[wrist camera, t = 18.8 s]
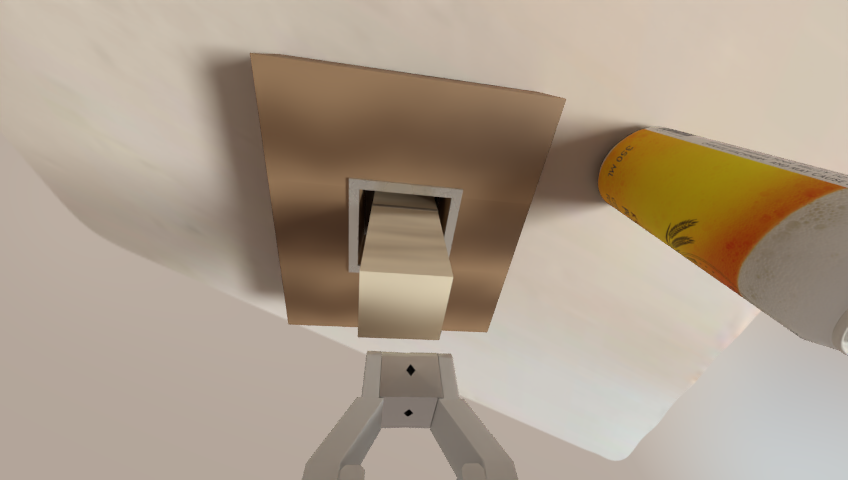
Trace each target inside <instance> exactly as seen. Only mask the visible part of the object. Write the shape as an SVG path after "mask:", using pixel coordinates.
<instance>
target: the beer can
mask: <svg viewBox="0 0 848 480" xmlns="http://www.w3.org/2000/svg"><path fill="white" fill-rule="evenodd" d="M598 188H599V192H600V194H601V196H602V198H603V199H604V200H605V201H606V202H607V203H608V204H610V205H611V206H612V207H614V208H615V209H617V210H618V211H620V212H621V213H623V214H624V215H625V216H627V217H628V218H630V219H631V220H633V221H634V222H635V223H637V224H638V225H640V226H641V227H643V228H644V229H645V230H647V231H648V232H650V233H651V234H653V235H654V236H655V237H657V238H658V239H660V240H661V241H663V242H664V243H665V244H667V245H668V246H670V247H671V248H673V249H674V250H676V251H677V252H678V253H680V254H681V255H683V256H684V257H686V258H687V259H688V260H690V261H691V262H693V263H694V264H696V265H697V266H698V267H700V268H701V269H703V270H704V271H706V272H707V273H708V274H710V275H711V276H713V277H714V278H716V279H717V280H718V281H720V282H721V283H723V284H724V285H726V286H727V287H729V288H730V289H731V290H733V291H734V292H736V293H737V294H739V295H740V296H741V297H743V298H744V299H746V300H747V301H749V302H750V303H751V304H753V305H754V306H756V307H757V308H759V309H760V310H761V311H763V312H764V313H766V314H767V315H769V316H770V317H772V318H773V319H774V320H776V321H777V322H779V323H780V324H782V325H783V326H784V327H786V328H787V329H789V330H790V331H792V332H793V333H795V334H796V335H797V336H799V337H800V338H802V339H804V340H808V341H811V342H814V343H817V344H820V345H823V346H827V347H830V348H833V349H836V350H839V351H841V352H842V353H844V354H845V355H847V356H848V175H846V174H842V173H838V172H834V171H830V170H827V169H823V168H819V167H815V166H811V165H807V164H804V163H800V162H796V161H792V160H788V159H784V158H781V157H777V156H773V155H769V154H765V153H761V152H758V151H754V150H750V149H746V148H742V147H738V146H734V145H731V144H727V143H723V142H719V141H715V140H711V139H708V138H704V137H700V136H696V135H692V134H688V133H685V132H681V131H677V130H673V129H669V128H665V127H648V128H644V129H641V130H639V131H636V132H634V133H632V134H631V135H629V136H627V137H626V138H625V139H623V140H622V141H620V142H619V143H618V144H616V145H615V146H614V147H613V148H612V149H611V150H610V152H609V153H608V154H607V156H606V157H605V159H604V161H603V163H602V165H601V168H600V172H599V178H598Z"/></svg>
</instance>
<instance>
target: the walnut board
mask: <svg viewBox="0 0 848 480" xmlns="http://www.w3.org/2000/svg"><path fill="white" fill-rule="evenodd" d="M250 57H251V64H252V71H253V78H254V85H255V93H256V100H257V107H258V114H259V121H260V128H261V135H262V142H263V149H264V156H265V163H266V170H267V177H268V184H269V191H270V198H271V205H272V212H273V219H274V226H275V233H276V240H277V247H278V254H279V261H280V268H281V275H282V282H283V289H284V296H285V303H286V310H287V317H288V323H289V324H293V325H317V326H342V327H358V313H359V272H360V266H361V261H362V256H363V251H364V246H365V240H366V235H364V221H365V190H373V191H383V192H393V193H404V194H414V195H425V196H435V197H440V199H439V205H438V215H439V219H440V223H441V227H442V232H443V236H444V240H445V244H446V248H447V252H448V256H449V261H450V265H451V269H452V273H453V281H452V286H451V290H450V294H449V299H448V303H447V308H446V312H445V316H444V321H443V325H442V330H443V331H468V332H487V331H488V328H489V325H490V322H491V319H492V316H493V314H494V311H495V308H496V305H497V302H498V299H499V296H500V293H501V290H502V287H503V284H504V281H505V278H506V275H507V272H508V269H509V266H510V264H511V261H512V258H513V255H514V252H515V249H516V246H517V243H518V240H519V237H520V234H521V231H522V228H523V225H524V222H525V219H526V216H527V214H528V211H529V208H530V205H531V202H532V199H533V196H534V193H535V190H536V187H537V184H538V181H539V178H540V175H541V172H542V169H543V166H544V164H545V161H546V158H547V155H548V152H549V149H550V146H551V143H552V140H553V137H554V134H555V131H556V128H557V125H558V122H559V119H560V116H561V114H562V111H563V108H564V105H565V102H566V99H564V98H560V97H556V96H552V95H548V94H544V93H540V92H535V91H528V90H521V89H514V88H507V87H500V86H494V85H487V84H480V83H473V82H466V81H459V80H452V79H446V78H439V77H432V76H425V75H418V74H411V73H404V72H398V71H391V70H384V69H377V68H370V67H363V66H357V65H350V64H343V63H336V62H329V61H322V60H315V59H309V58H302V57H295V56H288V55H281V54H258V53H250Z"/></svg>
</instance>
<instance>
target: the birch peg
mask: <svg viewBox="0 0 848 480" xmlns="http://www.w3.org/2000/svg"><path fill="white" fill-rule="evenodd" d="M452 281H453V273H452V269H451V265H450V261H449V256H448V252H447V248H446V244H445V240H444V236H443V232H442V227H441V223H440V219H439V215H438V209H437V207H436V202H435V198H434V196H425V195H414V194H404V193H393V192H383V191H375V194H374V199H373V203H372V209H371V215H370V220H369V225H368V230H367V235H366V240H365V246H364V251H363V256H362V261H361V266H360V272H359V313H358V337H368V338H396V339H423V340H439V339H440V334H441V330H442V325H443V321H444V316H445V312H446V308H447V303H448V299H449V294H450V290H451V286H452Z"/></svg>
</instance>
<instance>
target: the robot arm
mask: <svg viewBox="0 0 848 480" xmlns="http://www.w3.org/2000/svg"><path fill="white" fill-rule="evenodd" d="M381 359H382V360H381ZM399 427H409V428H430V430H431V432H432V434H433V435H434V437H435V439H436V441H437V442H438V444H439V446H440V448H441V449H442V451H443V453H444V455H445V457H446V458H447V460H448V462H449V464H450V466H451V467H452V469H453V471H454V472H455V474H456V476H457V480H518V477H517V473H516V470H515V466H514V462H513V461H512V459H511V458H510V457H509V456H508V454H507V453H506V452H505V451H504V450H503V448H502V447H501V446H500V444H499V443H498V442H497V440H496V439H495V438H494V437H493V435H492V434H491V433H490V432H489V430H488V429H487V428H486V427H485V425H484V424H483V423H482V421H481V420H480V419H479V418H478V416H477V415H476V414H475V413H474V411H473V410H472V409H471V408H470V406H469V405H468V404H467V403H466V401H465V400H464V399H459V393H458V387H457V380H456V374H455V368H454V362H453V357H452V355H451V354H437V353H398V352H381V351H368V352H367V355H366V364H365V372H364V380H363V389H362V397H357V398H356V399H355V401H354V402H353V403H352V405H351V406H350V407H349V409H348V410H347V411H346V412H345V414H344V415H343V416H342V418H341V419H340V420H339V422H338V423H337V424H336V425H335V427H334V428H333V429H332V430H331V432H330V433H329V434H328V436H327V437H326V438H325V440H324V441H323V442H322V444H321V445H320V446H319V447H318V449H317V450H316V452H314V454H313V455H312V456H311V458H310V459H309V460H308V462H307V463H306V466H305V470H304V474H303V478H302V480H364V474H365V470H364V469H363V467H362V466H361V465H360V464H361V463H362V461H363V459H364V458H365V456H366V454H367V452H368V451H369V449H370V447H371V446H372V444H373V442H374V440H375V439H376V437H377V435H378V433H379V432H380V430H381V428H399Z"/></svg>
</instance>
